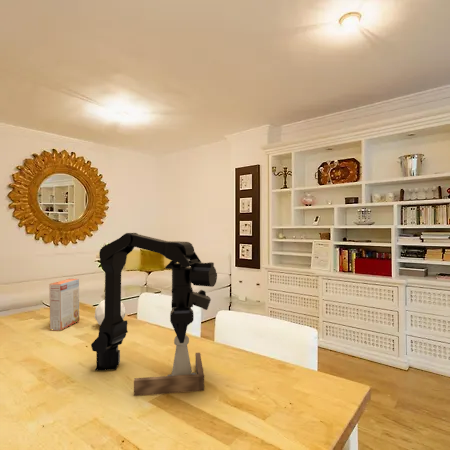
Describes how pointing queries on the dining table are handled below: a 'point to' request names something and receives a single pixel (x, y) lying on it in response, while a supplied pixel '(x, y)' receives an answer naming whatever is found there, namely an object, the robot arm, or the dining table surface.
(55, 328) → the cracker box
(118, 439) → the dining table surface
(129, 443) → the dining table surface
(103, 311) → the geodesic sphere
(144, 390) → the corner walls
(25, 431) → the dining table surface
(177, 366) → the salt shaker
